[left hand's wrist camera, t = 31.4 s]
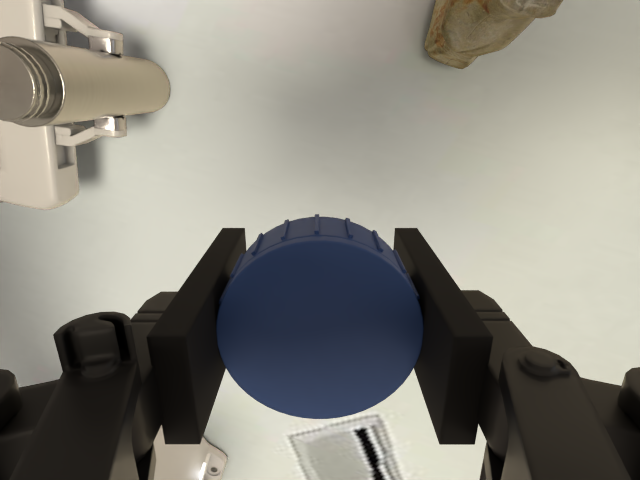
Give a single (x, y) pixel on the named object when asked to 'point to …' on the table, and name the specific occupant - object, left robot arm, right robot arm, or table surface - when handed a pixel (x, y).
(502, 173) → the table surface
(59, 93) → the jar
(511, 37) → the sculpture
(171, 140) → the table surface
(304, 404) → the lid
